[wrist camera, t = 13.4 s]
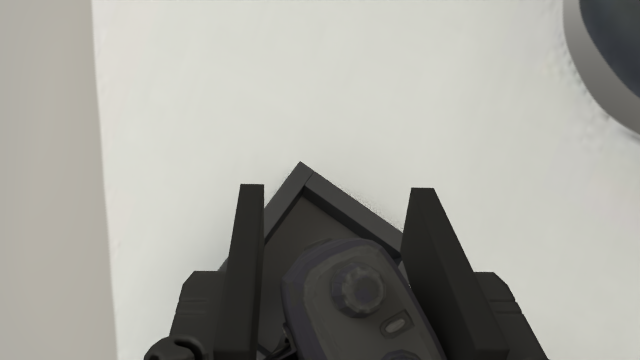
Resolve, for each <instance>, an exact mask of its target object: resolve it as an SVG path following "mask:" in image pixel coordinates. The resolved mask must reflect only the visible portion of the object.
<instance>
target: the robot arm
mask: <svg viewBox="0 0 640 360" xmlns="http://www.w3.org/2000/svg"><path fill="white" fill-rule="evenodd" d="M400 254H401V257H402V260H403V264H404V267H405V270H406V274H407V277H408V280H409V284H410V287H411V290H412V292H413V294H414V295H415V297H416V299H417V301H418V303H419V304H420V306H421V308H422V310H423V312H424V314H425V315H426V317H427V319H428V321H429V323H430V325H431V327H432V328H433V330H434V332H435V334H436V336H437V338H438V340H439V342H440V345H441V347H442V349H443V351H444V353H445V355H446V358H447V360H549V359H548V358H547V356H546V355H545V353H544V351H543V349H542V347H541V346H540V344H539V342H538V340H537V338H536V336H535V335H534V333H533V331H532V329H531V327H530V325H529V324H528V322H527V320H526V318H525V316H524V314H522V311H521V309H520V307H519V305H518V303H517V302H515V298H514V296H513V294H512V292H511V291H510V289H509V287H508V285H507V284H506V283H505V282H504V281H503V280H501V279H500V278H499V277H498V276H497V275H496V274H495V273H494V272H473V270H472V268H471V265H470V263H469V261H468V259H467V257H466V255H465V253H464V251H463V249H462V247H461V245H460V242H459V240H458V238H457V236H456V234H455V232H454V230H453V228H452V226H451V224H450V221H449V219H448V217H447V215H446V213H445V211H444V209H443V207H442V205H441V203H440V200H439V198H438V196H437V194H436V192H435V190H434V188H411V193H410V198H409V204H408V209H407V214H406V220H405V225H404V230H403V236H402V241H401V246H400ZM263 259H264V185H263V184H241V185H240V191H239V197H238V203H237V209H236V215H235V221H234V227H233V233H232V239H231V245H230V251H229V257H228V263H227V269H226V271H194V272H193V273H192V274H191V275H190V277H189V278H188V279H187V280H186V281H185V282H184V284H183V286H182V290H181V294H180V297H179V302H178V305H177V308H176V314H175V316H174V319H173V323H172V327H171V331H170V334H169V337H166V338H163V339H161V340H160V341H158V342H157V343H155V344H154V345H153V346H151V348H150V349H149V350H148V352H147V353H146V354H145V356H144V360H256V357H257V343H258V329H259V315H260V301H261V287H262V273H263Z"/></svg>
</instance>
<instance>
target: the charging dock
mask: <svg viewBox="0 0 640 360" xmlns="http://www.w3.org/2000/svg"><path fill="white" fill-rule="evenodd" d="M402 236H403V233H402V232H401V231H399V230H398V229H396V228H395V227H393V226H392V225H391V224H389V223H388V222H386V221H385V220H383V219H382V218H381V217H379V216H378V215H376V214H375V213H373V212H372V211H371V210H369V209H368V208H366V207H365V206H363V205H362V204H361V203H359V202H358V201H356V200H355V199H353V198H352V197H351V196H349V195H348V194H346V193H345V192H343V191H342V190H341V189H339V188H338V187H336V186H335V185H333V184H332V183H331V182H329V181H328V180H326V179H325V178H324V177H322V176H321V175H319V174H318V173H316V172H314V171H313V170H312V169H311V168H309V167H308V166H306V165H305V164H304V163H302V162H301V161H300V162H299V163H298V164H297V166H296V167H295V168H294V170H293V171H292V172H291V174H290V175H289V176H288V178H287V179H286V180H285V182H284V183H283V184H282V186H281V187H280V188H279V190H278V191H277V192H276V194H275V195H274V196H273V198H272V199H271V200H270V202H269V203H268V204H267V206H266V207H265V208H264V259H263V273H262V287H261V301H260V315H259V329H258V343H257V357H256V360H263V359H265V358H266V357H267V356H268V355H269V354H270V353H272V352H273V351H274V350H275V348H276V347H277V345H278V343H279V341H280V338H281V336H282V335H284V334H285V333H284V331H283V329H282V328H283V323H284V322H286V321H285V317H284V312H283V308H282V301H281V292H280V282H281V278H282V277H283V276H284V275H285V274H286V273H287V271H288V270H289V269H290V267H291V266H292V265H293V263H294V262H295V261H296V259H297V258H298V257H299V256H300V255H301V254H302V252H303V249H304V248H305V247H307V246H308V245H310V244H312V243H314V242H316V241H319V240H322V239H326V238H334V239H350V238H361V239H367V240H373V241H374V242H376V243H377V244H379V245H381V246H382V247H383V248H384V249H385V250H386V252H387V253H388V254H389V255H390V257H391V258H392V259H393V261H394V262H395V264H396V265H397V267H398V268H399V270H400V272H401V273H402V275H403V276H404V278H405V279H406V281H407V283H408V285H409V280H408V277H407V274H406V270H405V267H404V264H403V260H402V257H401V254H400V246H401V241H402ZM228 257H229V256H228ZM227 263H228V258H227V259H226V260H225V262H224V263H223V264H222V266H221V267H220V268H219V270H218V271H226V269H227Z"/></svg>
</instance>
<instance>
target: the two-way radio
mask: <svg viewBox="0 0 640 360" xmlns="http://www.w3.org/2000/svg"><path fill="white" fill-rule="evenodd" d="M280 292H281V301H282V308H283V312H284V317H285V321H286V322H284V323H283V328H282V329H283V331H284V333H285V334H284V335H282V336H281V338H280V341H279V343H278V345H277V347H276V348H275V350H274V351H273V352H272V353H270V354H269V355H268V356H267V357H266V358H265V359H263V360H447V358H446V355H445V353H444V351H443V349H442V347H441V345H440V342H439V340H438V338H437V336H436V334H435V332H434V330H433V328H432V327H431V325H430V323H429V321H428V319H427V317H426V315H425V314H424V312H423V310H422V308H421V306H420V304H419V303H418V301H417V299H416V297H415V295H414V294H413V292H412V290H411V288H410V286H409V285H408V283H407V281H406V279H405V278H404V276H403V275H402V273H401V272H400V270H399V268H398V267H397V265H396V264H395V262H394V261H393V259H392V258H391V257H390V255H389V254H388V253H387V252H386V250H385V249H384V248H383V247H382V246H381V245H379V244H377V243H376V242H374V241H373V240H367V239H361V238H350V239H334V238H326V239H322V240H319V241H316V242H314V243H312V244H310V245H308V246H307V247H305V248H304V249H303V252H302V254H301V255H300V256H299V257H298V258H297V259H296V261H295V262H294V263H293V265H292V266H291V267H290V269H289V270H288V271H287V273H286V274H285V275H284V276H283V277H282V278H281V282H280Z"/></svg>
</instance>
